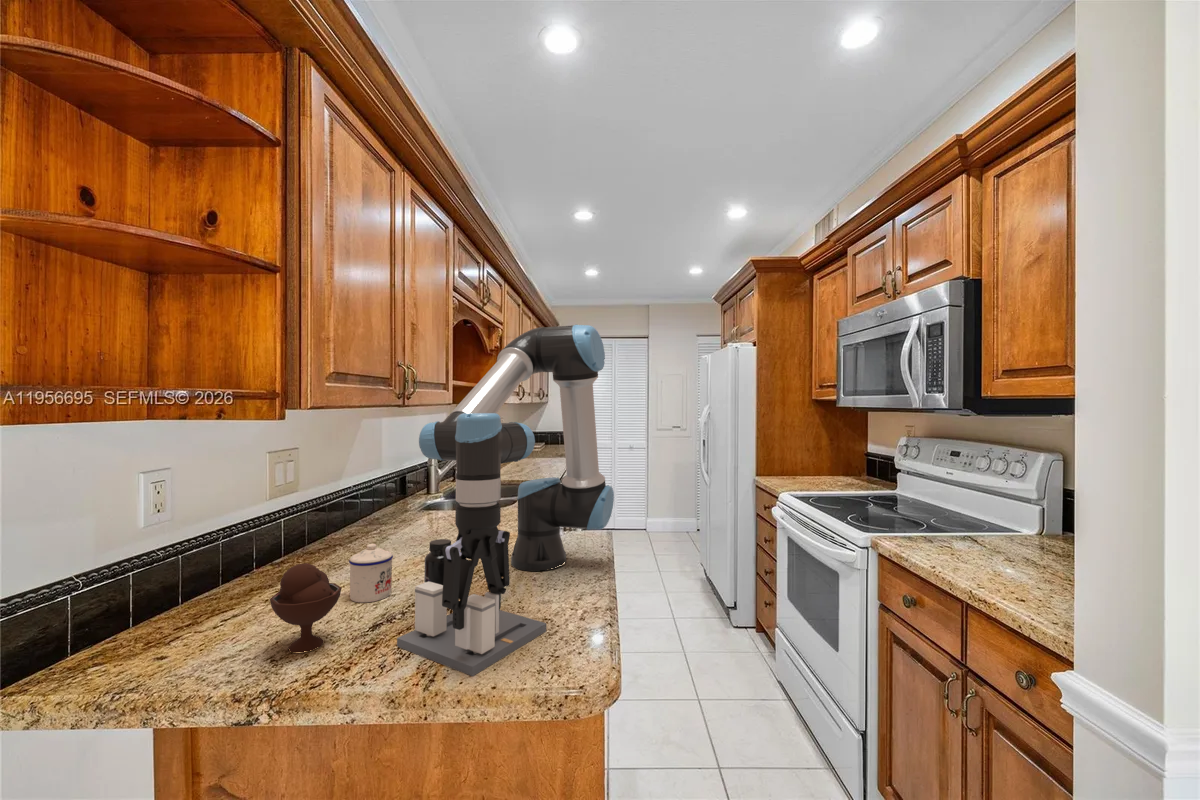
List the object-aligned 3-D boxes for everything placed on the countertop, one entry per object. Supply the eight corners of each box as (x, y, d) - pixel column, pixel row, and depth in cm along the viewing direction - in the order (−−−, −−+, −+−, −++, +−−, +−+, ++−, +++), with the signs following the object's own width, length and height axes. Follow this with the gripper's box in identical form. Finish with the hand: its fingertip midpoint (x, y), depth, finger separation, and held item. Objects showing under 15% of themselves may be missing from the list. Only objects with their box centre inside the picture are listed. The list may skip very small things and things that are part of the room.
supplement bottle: (417, 597, 112) (418, 543, 113) (436, 586, 119) (437, 536, 119) (443, 600, 110) (443, 546, 110) (461, 590, 117) (461, 539, 117)
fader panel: (475, 610, 105) (475, 602, 105) (546, 631, 95) (546, 622, 95) (396, 646, 89) (396, 637, 89) (472, 676, 79) (472, 666, 79)
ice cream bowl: (342, 651, 87) (343, 565, 87) (266, 667, 82) (267, 575, 82) (340, 627, 96) (341, 550, 97) (271, 641, 91) (272, 558, 91)
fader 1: (428, 629, 94) (428, 581, 94) (446, 635, 91) (447, 586, 91) (414, 635, 91) (414, 586, 91) (433, 642, 88) (433, 591, 88)
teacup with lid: (381, 603, 109) (382, 550, 109) (340, 603, 109) (341, 550, 109) (404, 584, 121) (404, 536, 121) (366, 584, 121) (367, 536, 121)
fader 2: (473, 645, 87) (473, 593, 87) (495, 652, 85) (495, 599, 85) (460, 652, 85) (460, 599, 85) (481, 660, 82) (481, 605, 82)
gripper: (500, 492, 95) (500, 614, 95) (417, 509, 79) (416, 656, 79) (531, 496, 91) (530, 623, 91) (449, 515, 75) (448, 669, 75)
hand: (477, 638), depth 85 cm, fingers open, 6 cm apart
